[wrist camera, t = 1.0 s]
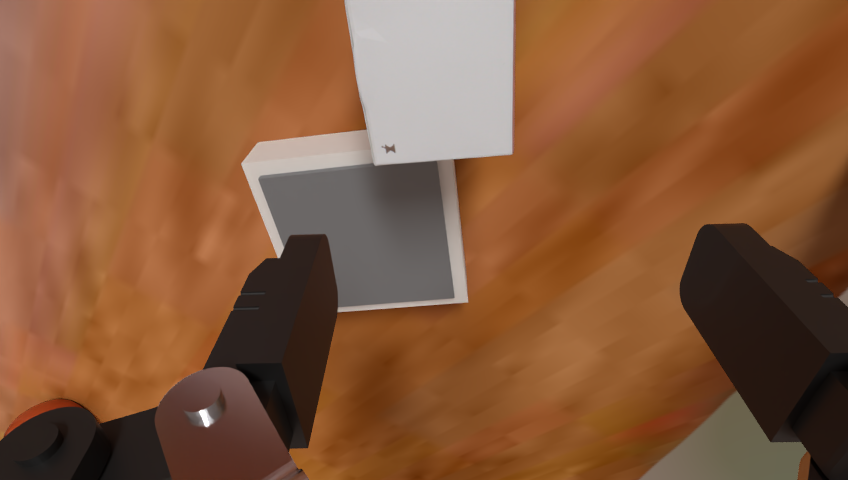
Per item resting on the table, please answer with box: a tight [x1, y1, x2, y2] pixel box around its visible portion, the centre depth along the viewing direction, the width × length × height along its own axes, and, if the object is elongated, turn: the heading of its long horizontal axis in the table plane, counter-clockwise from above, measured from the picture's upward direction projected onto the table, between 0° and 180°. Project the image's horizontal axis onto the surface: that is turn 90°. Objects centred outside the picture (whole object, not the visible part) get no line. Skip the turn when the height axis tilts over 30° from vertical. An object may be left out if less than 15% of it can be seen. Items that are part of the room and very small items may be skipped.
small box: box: [344, 0, 516, 166], centre depth 24 cm, size 8×6×13 cm
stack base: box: [241, 130, 468, 312], centre depth 36 cm, size 14×14×4 cm
